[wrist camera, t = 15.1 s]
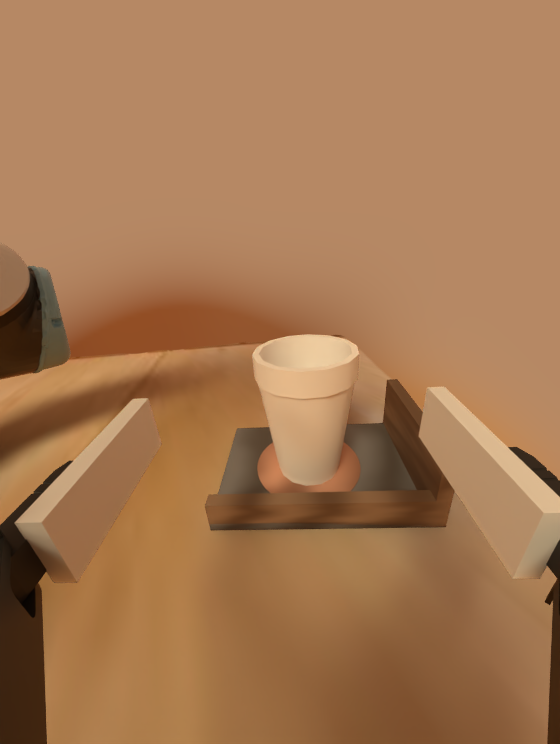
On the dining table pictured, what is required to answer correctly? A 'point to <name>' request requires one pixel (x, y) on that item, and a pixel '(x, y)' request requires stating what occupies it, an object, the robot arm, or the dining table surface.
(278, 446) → the foam cup
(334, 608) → the dining table surface
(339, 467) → the wooden-edged grey tray
